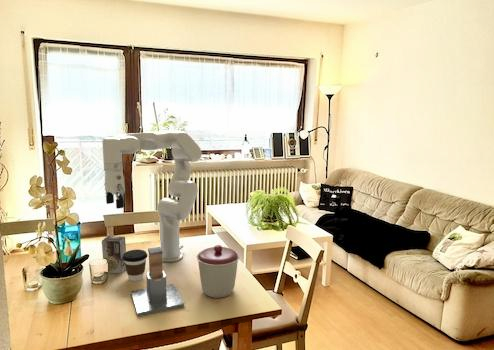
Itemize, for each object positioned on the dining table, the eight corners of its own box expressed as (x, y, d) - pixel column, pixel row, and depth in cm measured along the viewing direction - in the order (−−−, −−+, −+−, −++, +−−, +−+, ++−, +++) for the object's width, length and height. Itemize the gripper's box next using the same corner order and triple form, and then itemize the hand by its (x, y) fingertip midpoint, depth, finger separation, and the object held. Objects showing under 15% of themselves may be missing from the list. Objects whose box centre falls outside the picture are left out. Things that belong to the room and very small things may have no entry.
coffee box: (127, 268, 186) (125, 236, 183) (121, 274, 180) (120, 241, 176) (109, 267, 187) (107, 235, 184) (103, 272, 180) (101, 240, 177)
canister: (236, 280, 174) (236, 237, 170) (241, 301, 157) (242, 253, 153) (196, 283, 172) (195, 238, 168) (197, 304, 154) (196, 255, 150)
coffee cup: (141, 285, 169) (140, 259, 167) (118, 282, 171) (117, 257, 169) (152, 274, 180) (151, 250, 177) (130, 271, 182) (129, 248, 179)
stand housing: (131, 294, 161) (129, 269, 159) (173, 286, 168) (173, 262, 166) (137, 316, 145) (136, 288, 143) (184, 306, 152) (183, 280, 150)
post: (149, 294, 157) (148, 248, 153) (161, 292, 159) (160, 246, 155) (151, 300, 153) (150, 252, 149) (163, 297, 155) (162, 251, 151)
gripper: (131, 168, 159) (132, 208, 162) (112, 163, 171) (114, 200, 175) (113, 170, 154) (115, 211, 157) (96, 164, 166) (98, 203, 170)
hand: (115, 205), depth 166 cm, fingers open, 9 cm apart
